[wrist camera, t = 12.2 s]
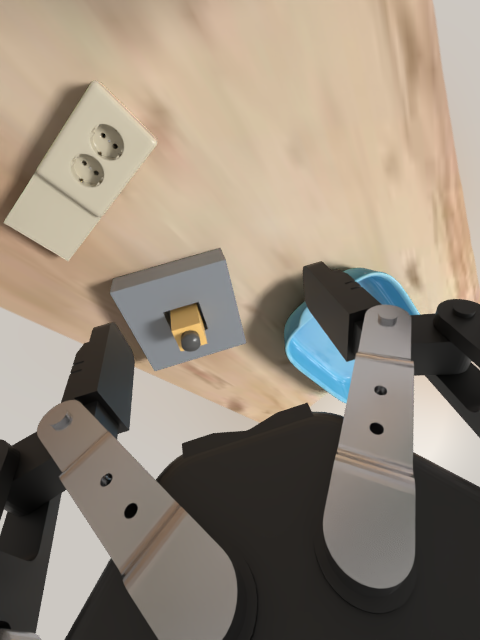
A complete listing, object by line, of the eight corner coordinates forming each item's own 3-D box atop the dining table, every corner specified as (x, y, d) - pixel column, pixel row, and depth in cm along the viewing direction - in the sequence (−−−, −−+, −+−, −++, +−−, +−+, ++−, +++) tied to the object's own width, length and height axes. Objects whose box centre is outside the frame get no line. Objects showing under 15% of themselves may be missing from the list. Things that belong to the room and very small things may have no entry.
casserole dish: (424, 337, 67) (448, 358, 61) (344, 392, 73) (360, 416, 68) (352, 229, 46) (379, 246, 41) (250, 319, 52) (261, 345, 47)
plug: (194, 296, 45) (201, 329, 39) (201, 315, 48) (208, 350, 41) (169, 303, 45) (172, 338, 39) (178, 322, 48) (181, 358, 41)
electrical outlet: (-1, 225, 32) (92, 78, 26) (14, 214, 35) (99, 80, 30) (66, 264, 36) (158, 143, 30) (73, 251, 39) (158, 139, 34)
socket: (220, 248, 43) (225, 259, 40) (240, 328, 53) (246, 343, 50) (113, 278, 42) (109, 292, 39) (154, 354, 52) (154, 371, 49)
